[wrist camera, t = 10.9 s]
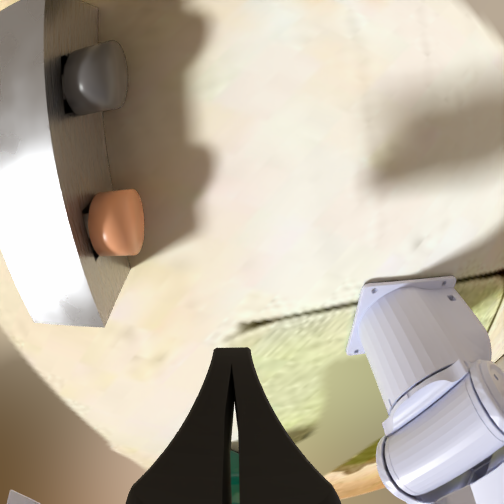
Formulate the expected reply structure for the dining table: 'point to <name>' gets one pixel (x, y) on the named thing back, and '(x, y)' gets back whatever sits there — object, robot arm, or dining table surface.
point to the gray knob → (95, 78)
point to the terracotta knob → (116, 223)
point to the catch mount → (52, 168)
